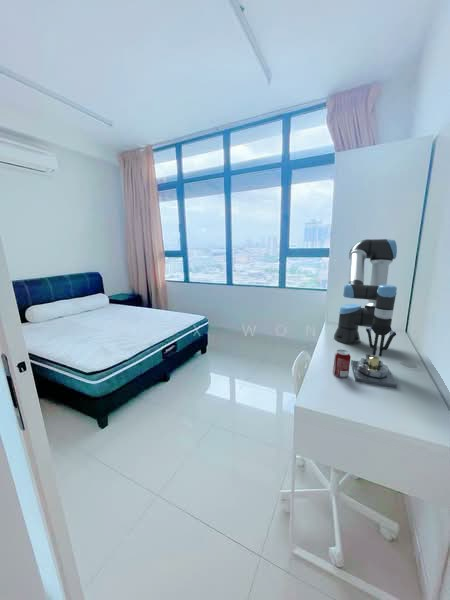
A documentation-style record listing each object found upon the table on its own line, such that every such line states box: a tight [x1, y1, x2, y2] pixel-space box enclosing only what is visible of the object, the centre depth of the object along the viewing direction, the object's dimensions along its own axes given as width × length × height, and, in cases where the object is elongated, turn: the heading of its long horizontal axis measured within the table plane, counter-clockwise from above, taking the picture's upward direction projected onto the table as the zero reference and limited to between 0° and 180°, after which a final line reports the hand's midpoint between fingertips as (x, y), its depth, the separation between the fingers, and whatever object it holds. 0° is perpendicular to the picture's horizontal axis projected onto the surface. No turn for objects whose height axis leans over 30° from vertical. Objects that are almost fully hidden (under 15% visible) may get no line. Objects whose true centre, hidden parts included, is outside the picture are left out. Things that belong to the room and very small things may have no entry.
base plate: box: [350, 355, 398, 389], centre depth 117 cm, size 18×16×9 cm
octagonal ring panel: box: [358, 353, 390, 377], centre depth 120 cm, size 19×12×4 cm, turn 159°
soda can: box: [332, 348, 351, 378], centre depth 117 cm, size 7×7×12 cm
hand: (376, 361), depth 125 cm, fingers closed
